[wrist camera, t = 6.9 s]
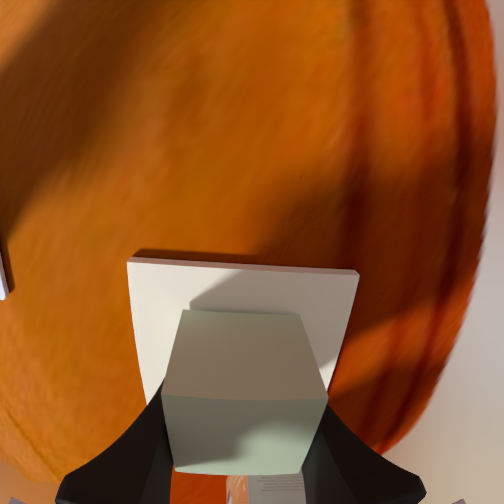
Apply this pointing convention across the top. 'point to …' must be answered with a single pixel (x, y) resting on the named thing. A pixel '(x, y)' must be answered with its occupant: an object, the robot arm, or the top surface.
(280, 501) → the small box
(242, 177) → the top surface
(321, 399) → the cube
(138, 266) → the tile
